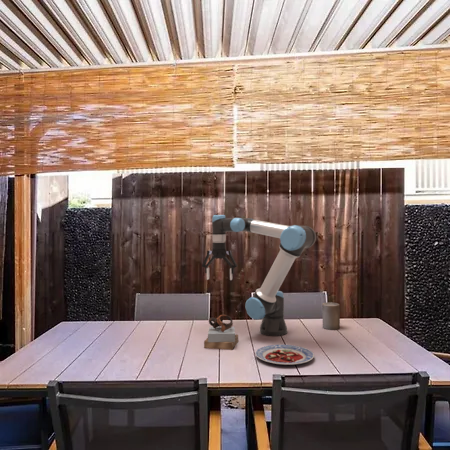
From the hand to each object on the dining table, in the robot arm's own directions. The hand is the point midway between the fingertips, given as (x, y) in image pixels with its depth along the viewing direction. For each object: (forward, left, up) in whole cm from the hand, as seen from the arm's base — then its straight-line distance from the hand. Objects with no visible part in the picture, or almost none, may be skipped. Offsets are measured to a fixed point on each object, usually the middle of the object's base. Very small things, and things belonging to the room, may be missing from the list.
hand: (219, 279), depth 219 cm
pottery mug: (-7, +25, -22) cm, 34 cm away
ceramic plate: (-40, +38, -29) cm, 62 cm away
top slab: (-8, +25, -26) cm, 37 cm away
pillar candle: (-61, -18, -29) cm, 70 cm away
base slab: (-8, +25, -29) cm, 40 cm away
